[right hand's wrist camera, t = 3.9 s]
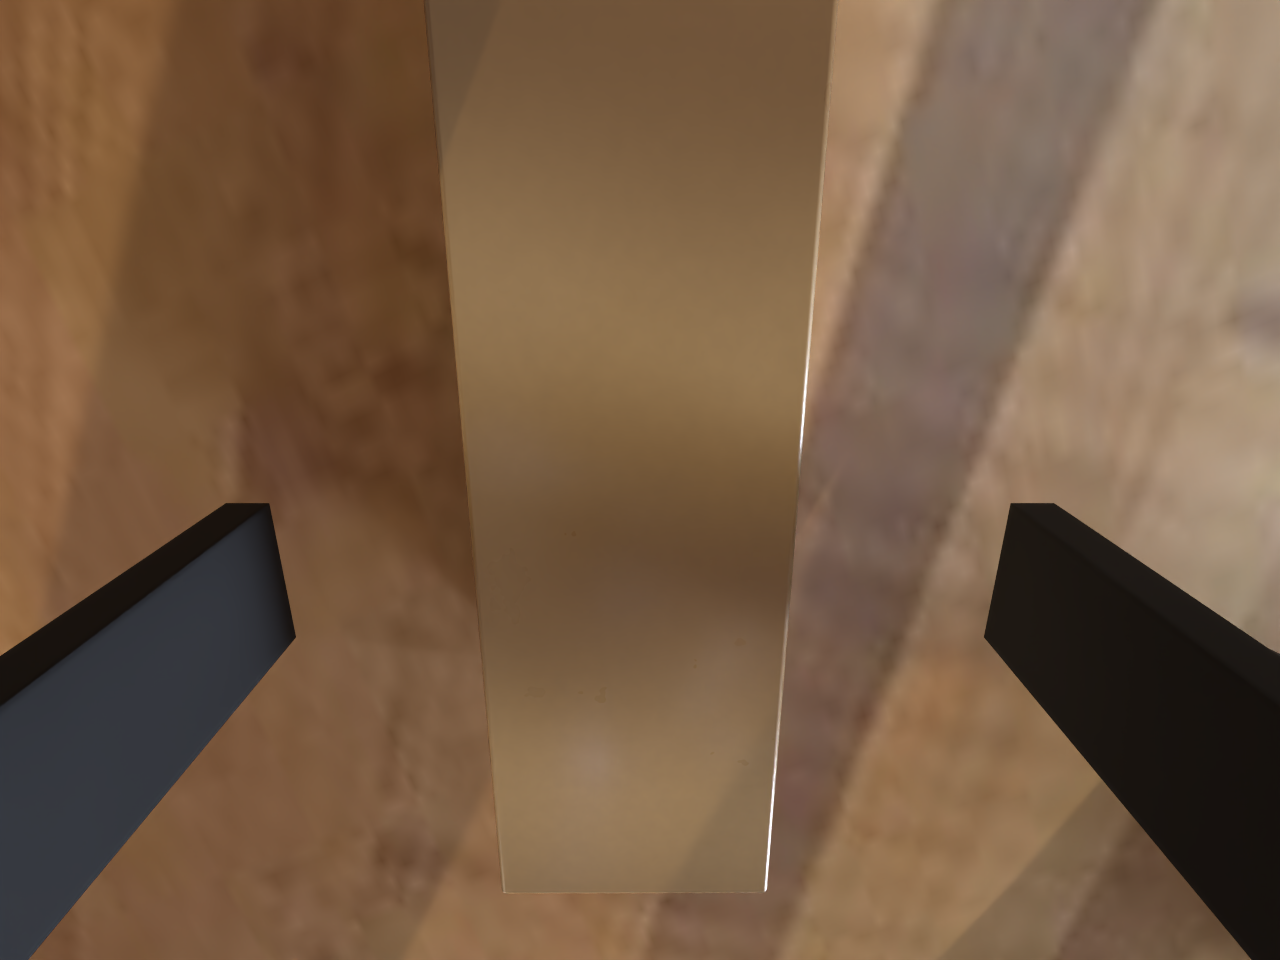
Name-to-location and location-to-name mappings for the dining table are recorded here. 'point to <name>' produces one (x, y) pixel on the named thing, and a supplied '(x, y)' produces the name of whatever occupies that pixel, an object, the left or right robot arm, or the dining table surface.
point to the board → (632, 413)
